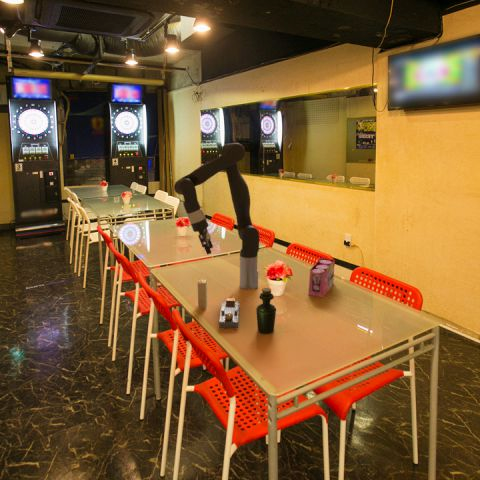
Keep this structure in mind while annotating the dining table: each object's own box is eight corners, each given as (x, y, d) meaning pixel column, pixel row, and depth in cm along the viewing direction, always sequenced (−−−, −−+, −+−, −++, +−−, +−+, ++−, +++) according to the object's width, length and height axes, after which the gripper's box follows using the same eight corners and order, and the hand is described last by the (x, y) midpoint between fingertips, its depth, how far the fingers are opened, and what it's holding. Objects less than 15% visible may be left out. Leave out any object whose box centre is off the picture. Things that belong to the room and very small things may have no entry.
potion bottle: (270, 324, 177) (270, 284, 173) (279, 333, 170) (280, 291, 165) (252, 328, 174) (253, 287, 169) (261, 336, 167) (262, 294, 162)
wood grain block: (199, 305, 197) (198, 279, 194) (207, 305, 197) (206, 279, 194) (198, 309, 193) (197, 283, 189) (206, 309, 192) (205, 283, 189)
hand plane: (222, 307, 195) (222, 297, 194) (239, 307, 195) (239, 297, 194) (219, 328, 174) (219, 317, 172) (238, 328, 173) (238, 317, 172)
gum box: (322, 298, 206) (324, 272, 203) (307, 296, 209) (308, 270, 206) (333, 283, 227) (335, 259, 224) (319, 281, 230) (320, 257, 227)
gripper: (203, 220, 187) (216, 253, 191) (206, 213, 200) (218, 243, 205) (188, 226, 188) (201, 258, 192) (192, 218, 201) (204, 248, 206)
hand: (210, 250), depth 198 cm, fingers open, 8 cm apart
